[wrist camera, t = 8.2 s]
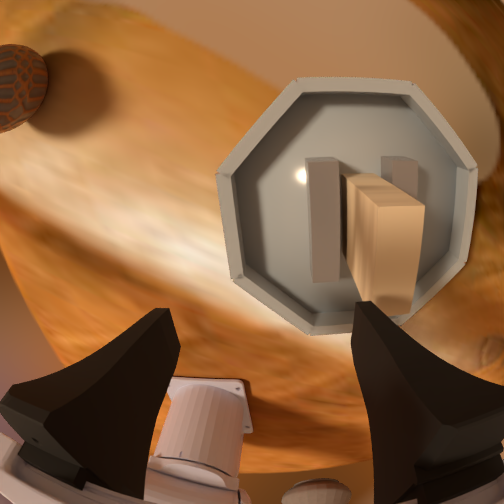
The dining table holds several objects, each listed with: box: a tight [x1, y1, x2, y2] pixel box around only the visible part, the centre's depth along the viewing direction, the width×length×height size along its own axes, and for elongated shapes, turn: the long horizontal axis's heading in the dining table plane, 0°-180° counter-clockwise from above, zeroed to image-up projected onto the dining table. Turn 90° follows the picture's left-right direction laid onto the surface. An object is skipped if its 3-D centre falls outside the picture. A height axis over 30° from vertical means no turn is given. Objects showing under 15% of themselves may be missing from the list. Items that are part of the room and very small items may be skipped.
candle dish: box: [215, 77, 478, 336], centre depth 17 cm, size 16×16×3 cm
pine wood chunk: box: [341, 173, 425, 316], centre depth 14 cm, size 5×2×7 cm, turn 6°
